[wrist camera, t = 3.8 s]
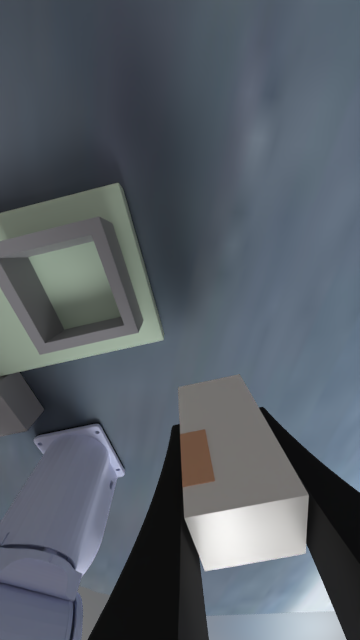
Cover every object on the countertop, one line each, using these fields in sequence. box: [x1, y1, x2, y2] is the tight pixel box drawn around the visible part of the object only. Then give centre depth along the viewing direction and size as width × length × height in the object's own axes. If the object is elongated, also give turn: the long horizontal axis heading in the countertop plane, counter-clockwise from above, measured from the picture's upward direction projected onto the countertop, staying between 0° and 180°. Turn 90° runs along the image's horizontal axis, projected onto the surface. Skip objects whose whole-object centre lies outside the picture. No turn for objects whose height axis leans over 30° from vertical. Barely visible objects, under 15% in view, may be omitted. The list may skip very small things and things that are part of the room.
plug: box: [178, 374, 309, 571], centre depth 9 cm, size 4×4×6 cm
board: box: [0, 183, 164, 376], centre depth 14 cm, size 12×20×4 cm, turn 103°
